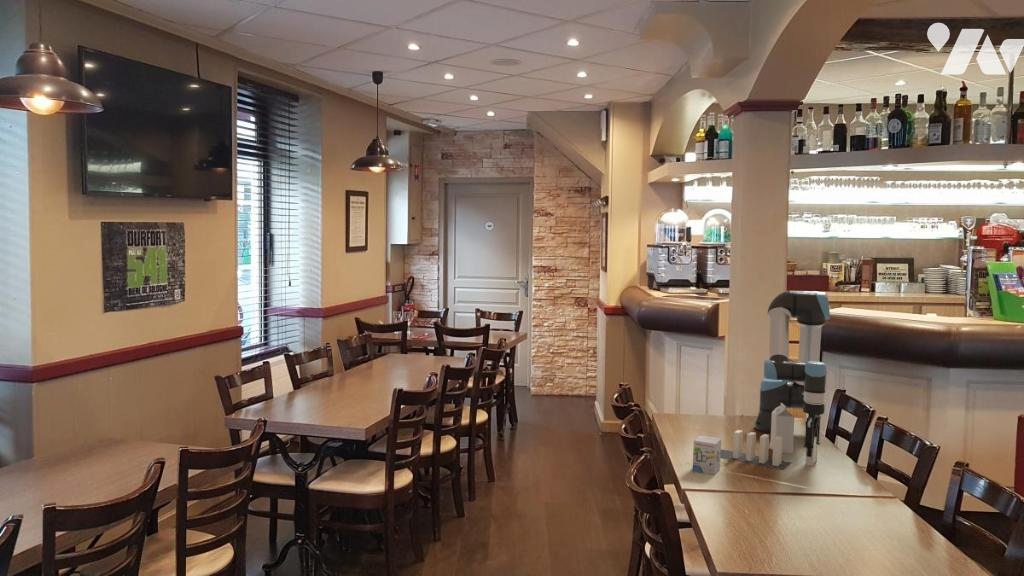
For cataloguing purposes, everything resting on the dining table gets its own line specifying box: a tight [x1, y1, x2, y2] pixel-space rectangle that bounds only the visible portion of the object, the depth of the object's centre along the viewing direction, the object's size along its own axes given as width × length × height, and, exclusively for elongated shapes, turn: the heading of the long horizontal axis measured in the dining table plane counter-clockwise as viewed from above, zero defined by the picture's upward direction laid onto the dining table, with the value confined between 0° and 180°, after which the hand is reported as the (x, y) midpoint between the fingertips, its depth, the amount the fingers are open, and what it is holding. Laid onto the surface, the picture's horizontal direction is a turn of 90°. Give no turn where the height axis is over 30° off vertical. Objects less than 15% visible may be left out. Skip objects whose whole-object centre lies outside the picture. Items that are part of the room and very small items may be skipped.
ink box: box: [691, 435, 722, 476], centre depth 266 cm, size 8×8×12 cm
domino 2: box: [745, 431, 757, 461], centre depth 280 cm, size 5×2×10 cm, turn 145°
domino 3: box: [758, 433, 770, 463], centre depth 277 cm, size 5×2×10 cm, turn 145°
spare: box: [814, 437, 816, 464], centre depth 277 cm, size 5×2×10 cm, turn 145°
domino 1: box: [732, 429, 744, 459], centre depth 283 cm, size 5×2×10 cm, turn 145°
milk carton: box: [769, 403, 795, 454], centre depth 293 cm, size 7×7×19 cm
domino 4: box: [772, 436, 783, 466], centre depth 274 cm, size 5×2×10 cm, turn 144°
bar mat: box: [720, 448, 793, 471], centre depth 280 cm, size 12×28×1 cm, turn 55°
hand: (811, 462), depth 277 cm, fingers closed on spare, 5 cm apart
